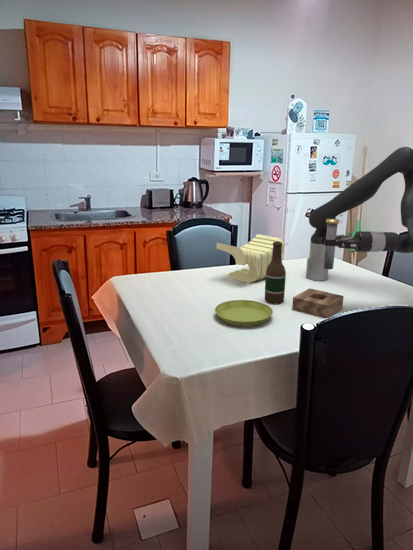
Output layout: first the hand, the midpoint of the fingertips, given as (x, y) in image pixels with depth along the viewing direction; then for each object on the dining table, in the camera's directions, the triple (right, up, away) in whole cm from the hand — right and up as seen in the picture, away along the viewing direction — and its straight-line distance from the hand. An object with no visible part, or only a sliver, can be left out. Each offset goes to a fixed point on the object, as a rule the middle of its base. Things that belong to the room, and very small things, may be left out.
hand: (323, 241), depth 151 cm
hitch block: (0, -25, +7) cm, 26 cm away
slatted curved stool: (-22, -14, +45) cm, 52 cm away
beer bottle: (-15, -23, +15) cm, 31 cm away
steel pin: (+3, -10, +3) cm, 10 cm away
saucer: (-29, -28, -2) cm, 40 cm away
